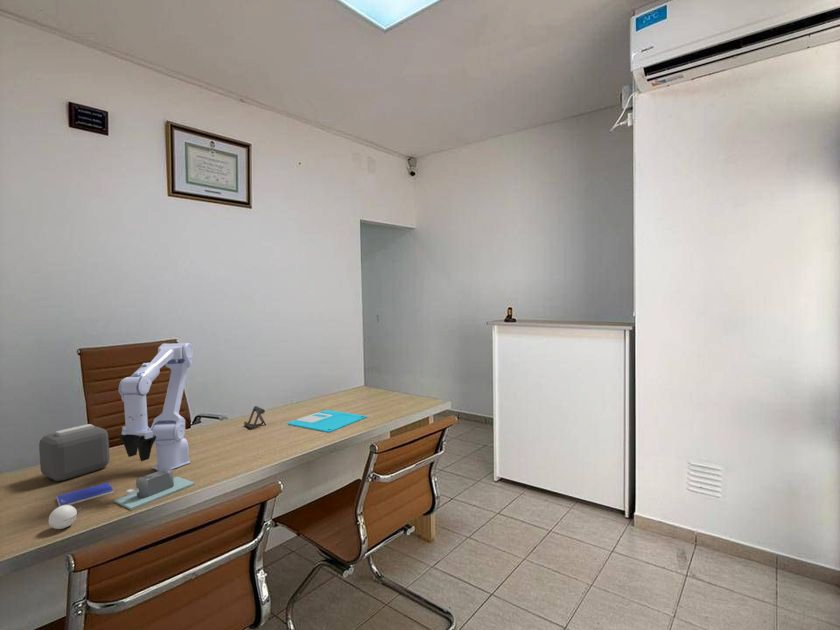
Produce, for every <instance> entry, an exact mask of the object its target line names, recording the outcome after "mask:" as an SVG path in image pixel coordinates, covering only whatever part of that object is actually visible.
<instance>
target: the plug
mask: <svg viewBox="0 0 840 630" xmlns="http://www.w3.org/2000/svg"><path fill="white" fill-rule="evenodd" d="M173 478H174V469H164V470H161V471H158V470H157V471H156V472H152V473H150V474H147V475H144V476H141V477H138V478H137V479H135V480H136V481H135V486H136V487H133V488H130V489H126V496H127V495H133V494H135V493H137V498H146V497H149V496H152V495H154V494H157V493H160V492H162V491H165V490H167V489H170V488H172V487H173V486H174V479H173Z"/></svg>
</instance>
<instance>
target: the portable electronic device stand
mask: <svg viewBox="0 0 840 630" xmlns="http://www.w3.org/2000/svg"><path fill="white" fill-rule="evenodd" d="M265 412H266V411H265V409H264V408H261V407H260V406H257V405H255V406H254V407H253V409H252V410H251V414H250V416H249V419H248V420H247V421H243V425H244V426H245V427H246V428H248V429H250V430H254V429H255V428H256V427H257V426H256V425H257V422H258V419H259V421H260V422H261V424H262V423H264V425H265V426H267V424H266V422H265V420H264V418H263V416H262V415H264V414H265ZM255 413H256V417H255V420H254V422H253V424H251V422H252V419H253V416H254V414H255Z"/></svg>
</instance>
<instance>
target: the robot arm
mask: <svg viewBox="0 0 840 630" xmlns="http://www.w3.org/2000/svg"><path fill="white" fill-rule="evenodd" d="M194 352H195V351H194V349H193V345H192V344H191V342H183V343H182V342H181V343H177V342H176V343H167V342H166V343H164V342H163V343H162V344H160V346H158V348H157V354H156V355H155V356H154V357H153V359H151V361H150V362H143V363H142V364H141V366H140V367H139V368H137V370H136V371H135V372H133V374H131V375H130V376H127V377H124V378H123V379H121V380H120V382H119V383H118V384H119V385H118V388H117V389H118V393H119V394H120V397H121V401H122V402H123V406H124V407H123V408H124V422H125V425H123V426H121V435H118V438H119V439H120V441H121V442H122V444H123V445H124V449H125V452H126V454H127V456H128V457H129V458H131V457H134V456H136V455H137V454H138V455H139V460H140V461H141V462H144V461H147V460H149V459H150V456H151V452H152V449H153V445H155V451H156V454H155V455H156V465H154V466H153V465H152V466H151V469H153V470H156V471H157V472H158V471H161V470H164V469H173V470H174V469H178V468H180V467H183V466H187V465H188V464H191V461H190V449H189V443H188V440H187V439H186V438H185V433H186V419H185V418H184V417H183V416H182V415H180V410H181V409H180V408H181V405H182V399H183V394H184V390H185V384H186V380H187V374H188V371H189V368H191V366H192V363H193V358H194ZM164 366H165V367H166V368H167V369H170V371H171V372H170V376H169V380H168V386H167V391H166V395H165V400H164V404H163V408H162V412H161V413H160V414H159V415H157V416H156V417H155V418H154V419H153V421H152V424H151V426H150V427H149V424H148V423H149V422H148V406H147V403H148V401H147V394H148V393H149V391H150V389H151V386H152V383H153V381H155V379H157V377H158V376H159V375H160V372H161V371H160V369H161V368H163V367H164Z"/></svg>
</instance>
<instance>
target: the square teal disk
mask: <svg viewBox="0 0 840 630" xmlns="http://www.w3.org/2000/svg"><path fill="white" fill-rule="evenodd" d="M365 419H368V416H367V415H364V414H363V415H362V414H356V413H351V412H350V413H349V412H343V411H336V410H330V409H329V410H320V411H319V412H315V413H312V414H309V415H306V416H303V417H300V418H297V419H295V420H291V421H288V422H286V424H288V426H291V425H292V427H296V426H297V427H298V428H302V429H306V430H307V429H308V430H313V431H317V432H324V433H329V434H330V433H332V432H336V431H338V430H340V429H343V428H345V427H348V426H350V425H352V424H355V423H357V422H359V421H363V420H365Z"/></svg>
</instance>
